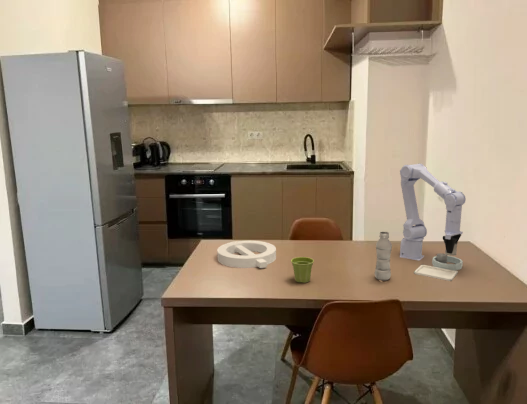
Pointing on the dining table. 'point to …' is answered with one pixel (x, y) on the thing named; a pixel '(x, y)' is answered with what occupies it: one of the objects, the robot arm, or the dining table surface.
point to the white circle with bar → (246, 254)
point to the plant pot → (302, 268)
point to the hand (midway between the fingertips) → (450, 251)
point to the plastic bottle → (383, 257)
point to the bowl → (451, 259)
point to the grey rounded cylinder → (453, 251)
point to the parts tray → (436, 272)
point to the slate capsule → (441, 258)
